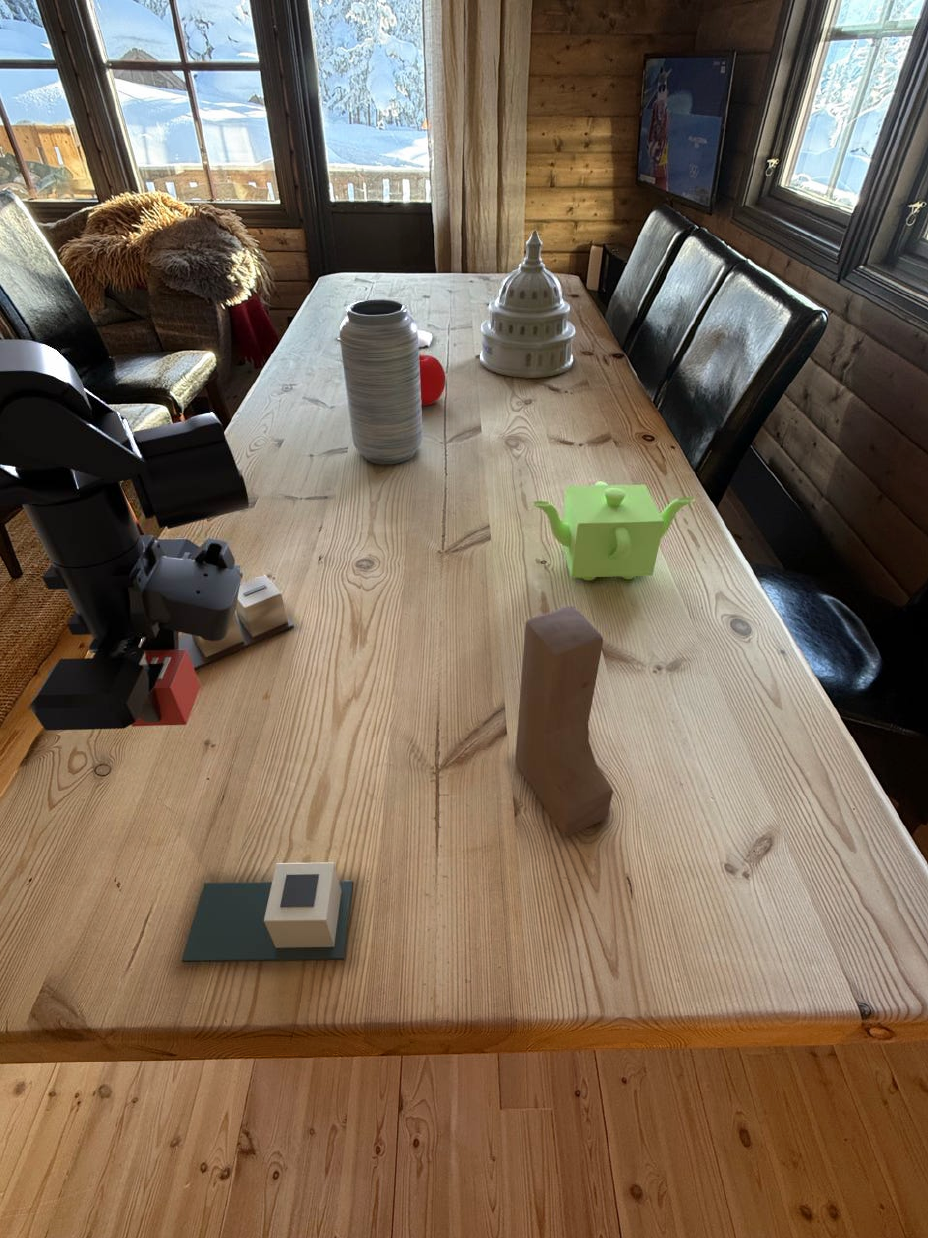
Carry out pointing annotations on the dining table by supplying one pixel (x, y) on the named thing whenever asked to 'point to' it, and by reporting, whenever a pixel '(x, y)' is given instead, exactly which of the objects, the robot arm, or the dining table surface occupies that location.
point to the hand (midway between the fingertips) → (163, 699)
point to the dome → (528, 322)
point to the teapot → (610, 529)
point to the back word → (243, 624)
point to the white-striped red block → (173, 686)
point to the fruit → (431, 379)
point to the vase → (382, 380)
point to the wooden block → (561, 719)
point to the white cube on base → (273, 918)
